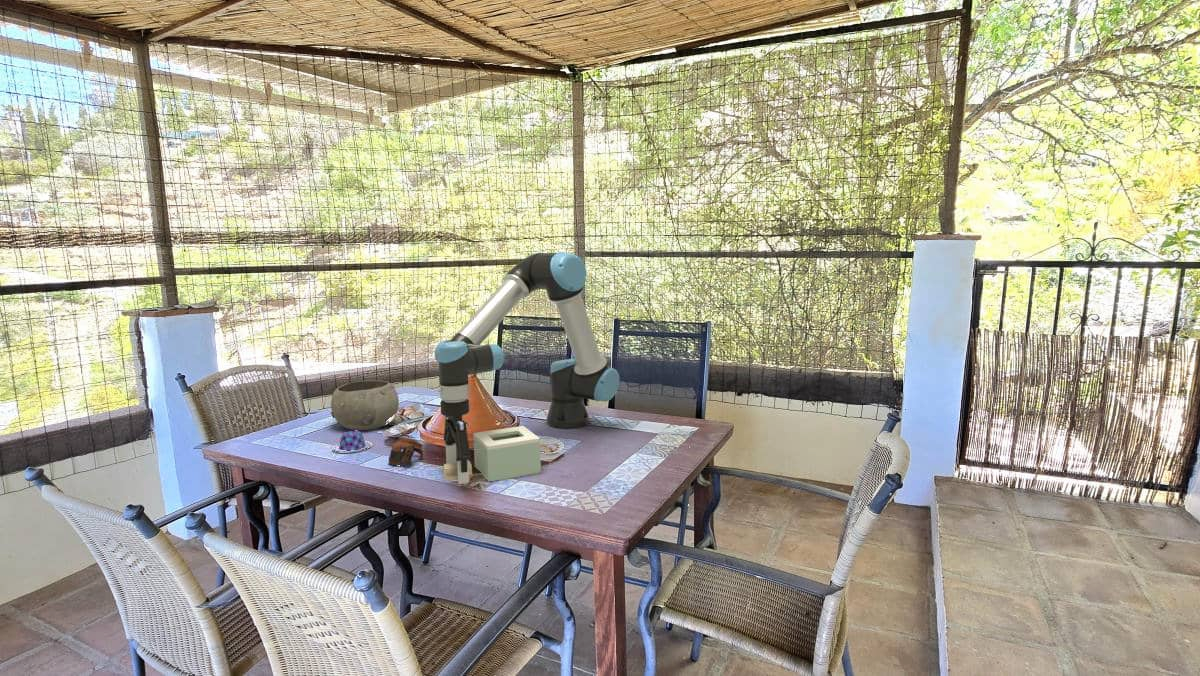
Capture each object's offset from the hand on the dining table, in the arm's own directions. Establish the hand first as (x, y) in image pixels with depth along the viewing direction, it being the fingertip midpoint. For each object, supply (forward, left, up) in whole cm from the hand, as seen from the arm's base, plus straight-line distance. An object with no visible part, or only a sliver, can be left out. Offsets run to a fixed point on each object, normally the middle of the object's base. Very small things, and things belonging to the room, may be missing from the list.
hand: (457, 475), depth 167 cm
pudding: (+23, -43, -2) cm, 49 cm away
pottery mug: (+10, -20, -1) cm, 23 cm away
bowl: (+16, -69, -1) cm, 71 cm away
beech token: (0, 0, -1) cm, 1 cm away
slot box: (-14, 0, -1) cm, 14 cm away
